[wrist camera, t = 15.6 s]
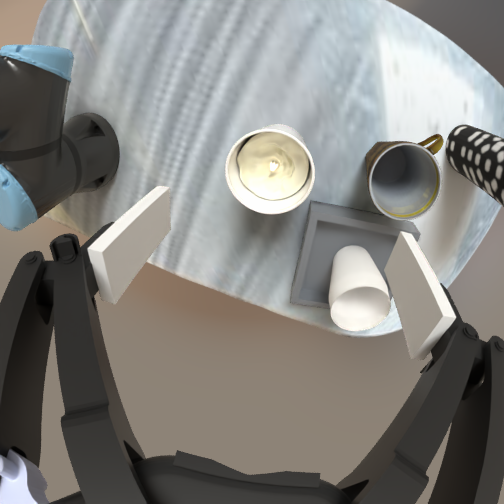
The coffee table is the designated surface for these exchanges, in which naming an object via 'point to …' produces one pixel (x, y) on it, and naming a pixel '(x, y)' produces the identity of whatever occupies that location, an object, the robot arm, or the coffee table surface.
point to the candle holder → (270, 170)
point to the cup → (357, 290)
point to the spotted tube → (478, 158)
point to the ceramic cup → (404, 177)
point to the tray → (337, 237)
